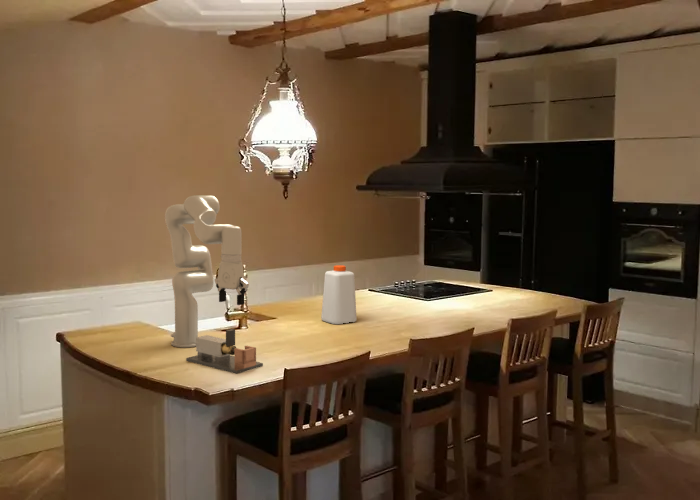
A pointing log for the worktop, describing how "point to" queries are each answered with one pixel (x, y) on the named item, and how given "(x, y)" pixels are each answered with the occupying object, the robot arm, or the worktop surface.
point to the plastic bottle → (339, 296)
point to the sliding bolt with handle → (229, 342)
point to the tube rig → (223, 356)
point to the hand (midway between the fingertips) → (231, 303)
